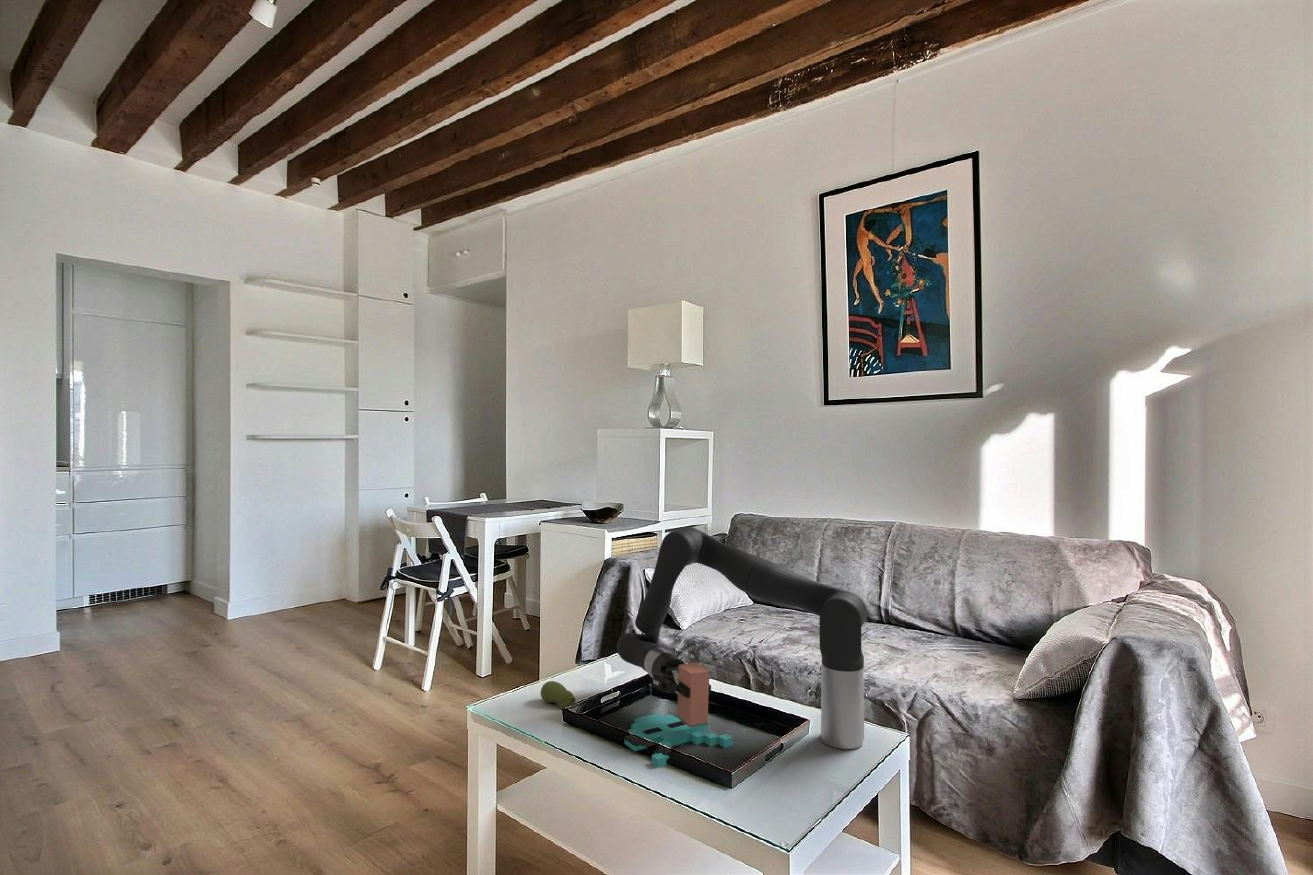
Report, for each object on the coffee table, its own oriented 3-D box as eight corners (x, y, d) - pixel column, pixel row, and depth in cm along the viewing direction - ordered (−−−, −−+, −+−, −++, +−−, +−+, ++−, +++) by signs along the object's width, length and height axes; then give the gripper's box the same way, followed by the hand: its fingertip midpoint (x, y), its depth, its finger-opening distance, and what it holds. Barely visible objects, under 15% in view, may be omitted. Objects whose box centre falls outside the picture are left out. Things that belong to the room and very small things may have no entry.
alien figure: (732, 747, 155) (680, 716, 172) (732, 737, 155) (680, 707, 172) (657, 770, 144) (609, 734, 161) (657, 759, 144) (609, 724, 161)
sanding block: (694, 714, 161) (696, 662, 161) (707, 724, 155) (709, 670, 155) (677, 717, 159) (678, 664, 159) (689, 727, 153) (691, 673, 153)
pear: (552, 675, 182) (581, 690, 177) (549, 694, 183) (578, 709, 177) (537, 681, 178) (566, 696, 172) (534, 701, 178) (563, 716, 173)
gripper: (638, 655, 167) (671, 679, 151) (691, 648, 173) (727, 670, 158) (637, 686, 167) (670, 713, 151) (690, 678, 173) (726, 704, 158)
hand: (699, 691), depth 155 cm, fingers closed on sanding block, 4 cm apart
